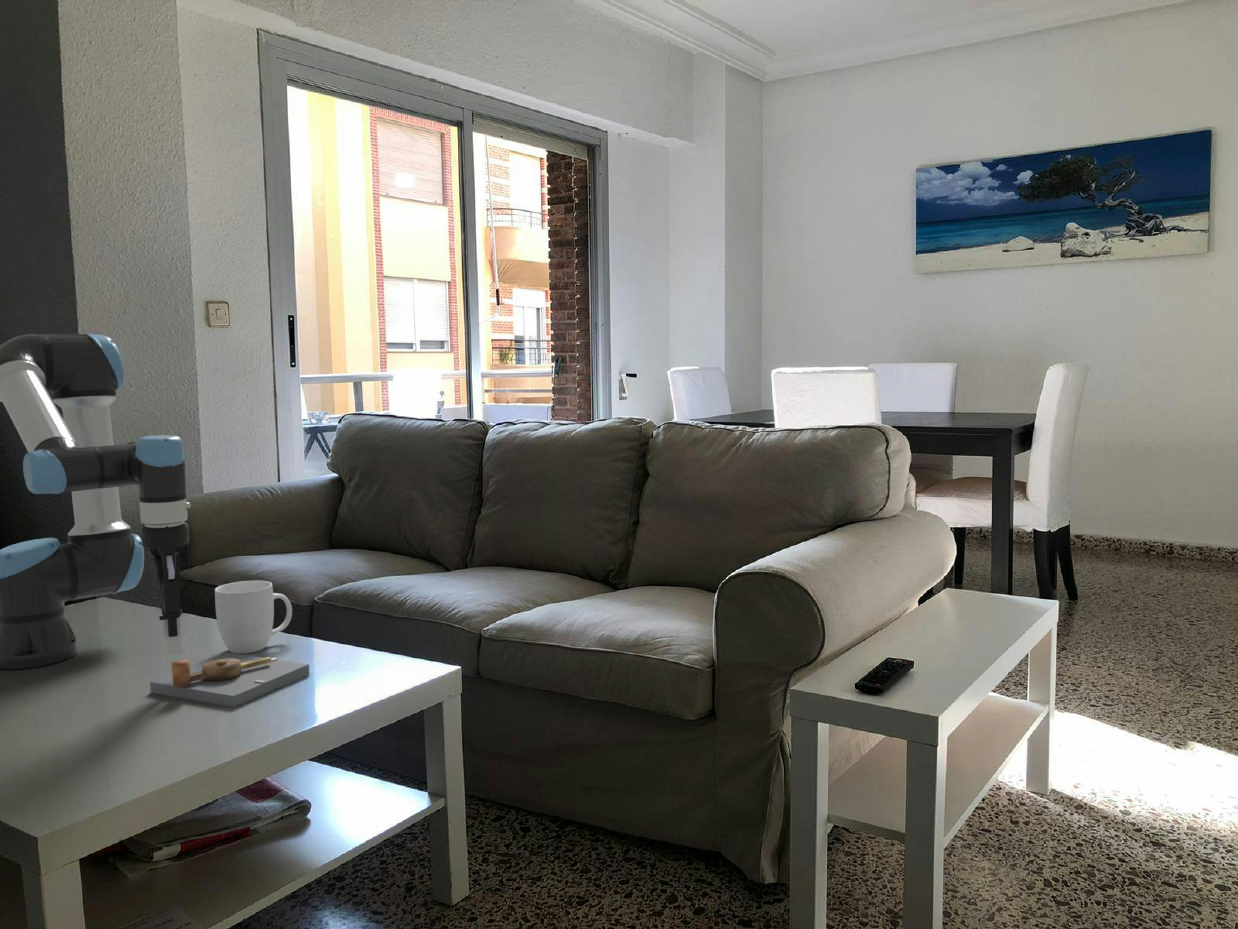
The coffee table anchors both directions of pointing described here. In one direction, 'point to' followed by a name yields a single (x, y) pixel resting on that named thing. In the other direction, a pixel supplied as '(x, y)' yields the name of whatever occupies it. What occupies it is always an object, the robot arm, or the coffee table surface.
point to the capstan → (211, 670)
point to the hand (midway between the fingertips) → (173, 652)
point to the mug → (247, 615)
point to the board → (234, 682)
